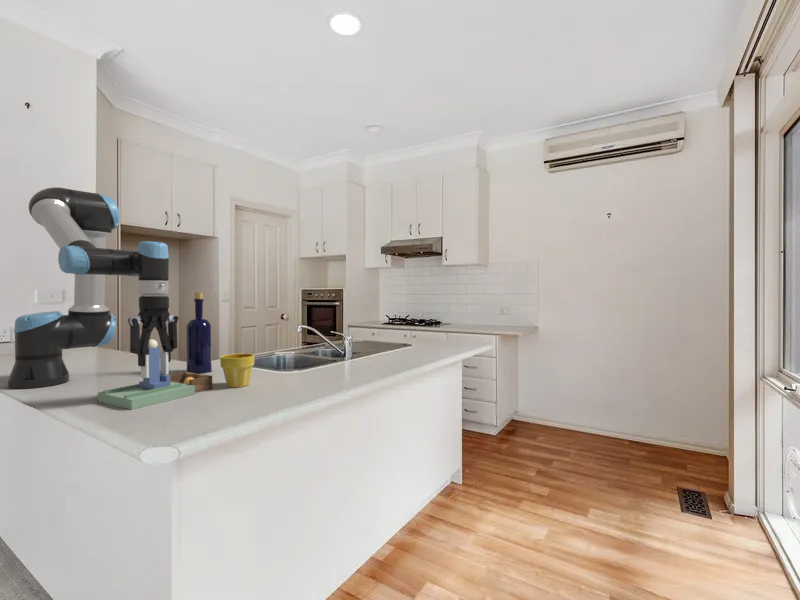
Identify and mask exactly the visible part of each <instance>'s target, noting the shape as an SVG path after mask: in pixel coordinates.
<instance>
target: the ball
mask: <svg viewBox="0 0 800 600" xmlns="http://www.w3.org/2000/svg"><path fill="white" fill-rule="evenodd" d="M191 379H194V378H192V377H188V378H186V379H185V380H184V382H183V384H187V385H189V380H191Z"/></svg>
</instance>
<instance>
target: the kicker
mask: <svg viewBox="0 0 800 600" xmlns="http://www.w3.org/2000/svg"><path fill="white" fill-rule="evenodd" d="M158 346H159V345H158V341H157V340H155V339H151V338H150V339H149V343H148V348H147V352H146V355H149V378H143V377H142V379H143V380H142V381H139V382H138V384H139V387H142V388H147V389H156V388H161V387H166V386H170V376H169V375H170V374H160V352H161V350H160V348H161V347H158Z"/></svg>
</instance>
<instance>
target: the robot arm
mask: <svg viewBox="0 0 800 600" xmlns="http://www.w3.org/2000/svg"><path fill="white" fill-rule="evenodd" d="M28 211H29V214H30V216H31V218H32V220H34V221H35V222H36V223H37V224H38V225H41V226H42V227H44V229H45V230H46V232H47V233H48V235H49V236H50V238H51V239H52V240H53V242H54V243H55V244H56V246H57V247H58V249H59V251H58V256H57V257H58V258H57V260H58V261H57V262H58V265H59V269H60V270H61V272H63V273H65V274H73V275H74V291H73V292H74V295H73V299H74V300H73V305H72V306H70V308H68V310H67V311H68V313H67V314H63V313H62V312H61V311H60V310H58V311H44V312H36V313H28V314H24V315H20V316H18V317H17V318H16V319H15V322H14V328H13V329H14V330H13V333H14V365H13V367H12V370H11V372H10V374H9V377H8V379H7V387H8V388H10V389H35V388H42V387H43V388H44V387H49V386H55V385H60V384H65V383H67V382H69V381H70V373H69V371H68V368H67V366H66V363H65V362H64V361H65V360H64V359H63V350H70V349H81V348H89V347H90V348H95V347H101V346H105V345H108V344H109V343H110V342H112V340H113V338H114V337H115V334H116V330H117V321H116V317H115V315H114V314H113V313H110V308H108V307H107V306H106V305H105V297H106V296H105V295H106V294H105V292H106V286H105V285H106V276H124V277H125V276H128V277H135V278H136V277H138V278H137V279H138V280H137V281H138V295H140V296H139V297H138V309H139V312H138V313H137V314H138V315H137V316H134V317H129V318H128V319H127V322H128V324H129V327H130V328H129V339H130V340H129V346H130V348H129V351H130V353H131V354H135V355H137V365H138V367H140V377H141V378H142V379H143V378H149V355H146V352H147V348H148V343H149V340H150V339H151V334H152V332H153V330H154V329H156V331H157V333H158V338H159V341H160V344H161V347H162V351H160V374H163V375H170V374H169V373H170V372H169V363H170V362H171V360H172V359H171V358H172V357H171V355H172V353H171V352H173V351H174V350H176V349H177V348H178V321H179V316H178V315H173V314H171V313H170V311H169V308H170V297H169V296H167V295H169V294H170V293H169V290H170V289H169V276H170V275H169V268H170V267H169V266H170V263H169V262H170V259H169V258H170V254H169V245H167V244H166V243H164V242H161V241H149V240H147V241H140V242H139V243H138V246H137V250H129V249H115V248H107V238H108V237H110V235H112V232H113V231H112V230H116V229H117V228H118V227H119V223H120V212H119V211H120V210H119V207H118V205H117V203H116V201H115V200H114V198H112V197H110V196H109V195H104V194H100V193H97V192H95V193H94V192H91V191H90V192H89V191H82V190H76V189H70V188H66V187H56V186H55V187H48V188H47V187H46V188H44V189H41V190H40V191H38V192H36V193H35V194H33V196H32V197H31V198H30V200H29V203H28ZM141 323H142V325H141V328H140V324H141ZM140 330H141V331H140ZM140 332H141V333H140Z"/></svg>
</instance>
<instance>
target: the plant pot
mask: <svg viewBox="0 0 800 600" xmlns="http://www.w3.org/2000/svg"><path fill="white" fill-rule="evenodd" d="M219 359H220V360H219V362H220V367H221V368H222V370H223V374H224V379H225V383H226V386H227V387H228V388H243V387H247V386H249V384H250V380H251V375H252V370H253V366H254V365H255V355H254V353H248V352H247V353H246V352H245V353H231V354H224V355H221V356H220V358H219Z"/></svg>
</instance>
